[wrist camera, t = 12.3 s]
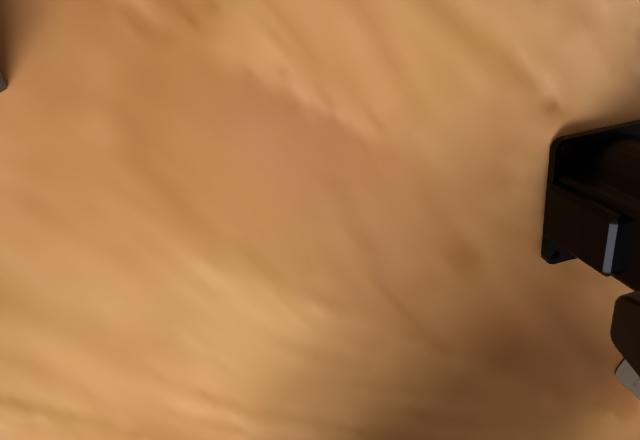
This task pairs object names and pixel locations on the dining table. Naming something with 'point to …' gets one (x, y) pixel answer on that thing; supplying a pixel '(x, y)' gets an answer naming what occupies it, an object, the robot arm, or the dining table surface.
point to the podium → (2, 83)
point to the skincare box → (629, 378)
